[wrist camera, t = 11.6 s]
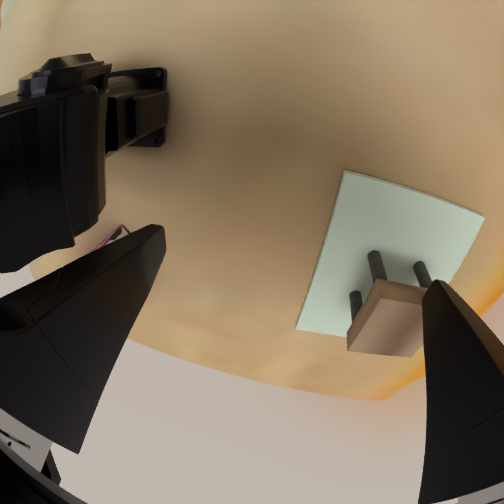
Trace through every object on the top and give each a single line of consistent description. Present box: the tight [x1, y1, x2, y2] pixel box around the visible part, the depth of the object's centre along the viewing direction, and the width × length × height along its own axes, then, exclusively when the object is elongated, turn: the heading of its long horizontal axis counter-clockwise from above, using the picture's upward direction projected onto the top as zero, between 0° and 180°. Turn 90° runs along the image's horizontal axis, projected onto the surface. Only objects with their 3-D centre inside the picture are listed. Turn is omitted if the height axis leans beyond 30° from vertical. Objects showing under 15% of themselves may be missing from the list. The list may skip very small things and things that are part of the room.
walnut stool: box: [347, 250, 432, 357], centre depth 21 cm, size 6×6×6 cm
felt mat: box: [296, 170, 485, 337], centre depth 24 cm, size 14×18×1 cm
